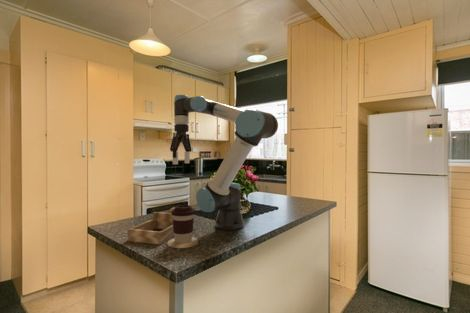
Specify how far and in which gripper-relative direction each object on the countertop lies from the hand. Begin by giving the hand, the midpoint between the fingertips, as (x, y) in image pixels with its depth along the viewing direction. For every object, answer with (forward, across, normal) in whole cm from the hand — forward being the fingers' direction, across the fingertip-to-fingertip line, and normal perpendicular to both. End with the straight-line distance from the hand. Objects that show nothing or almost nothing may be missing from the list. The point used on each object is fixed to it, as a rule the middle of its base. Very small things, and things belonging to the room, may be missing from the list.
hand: (181, 163), depth 139 cm
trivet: (+33, +26, +14) cm, 44 cm away
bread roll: (+33, -13, -10) cm, 37 cm away
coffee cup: (+32, +26, +14) cm, 44 cm away
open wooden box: (+33, +20, -2) cm, 38 cm away
